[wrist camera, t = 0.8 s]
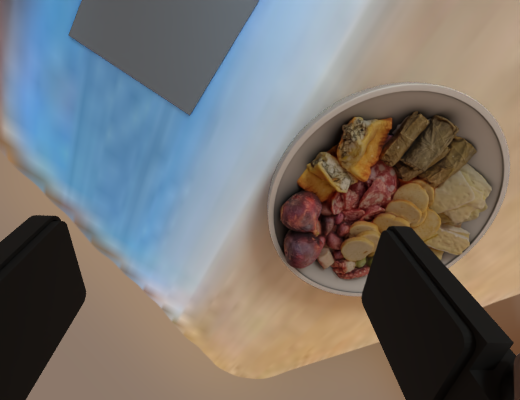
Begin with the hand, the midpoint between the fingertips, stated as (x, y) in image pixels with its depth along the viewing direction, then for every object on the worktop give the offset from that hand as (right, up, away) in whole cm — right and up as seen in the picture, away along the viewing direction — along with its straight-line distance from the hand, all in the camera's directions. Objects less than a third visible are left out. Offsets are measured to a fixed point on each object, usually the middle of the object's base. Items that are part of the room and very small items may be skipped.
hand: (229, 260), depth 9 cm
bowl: (+17, +3, +33) cm, 37 cm away
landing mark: (-9, +20, +21) cm, 31 cm away
